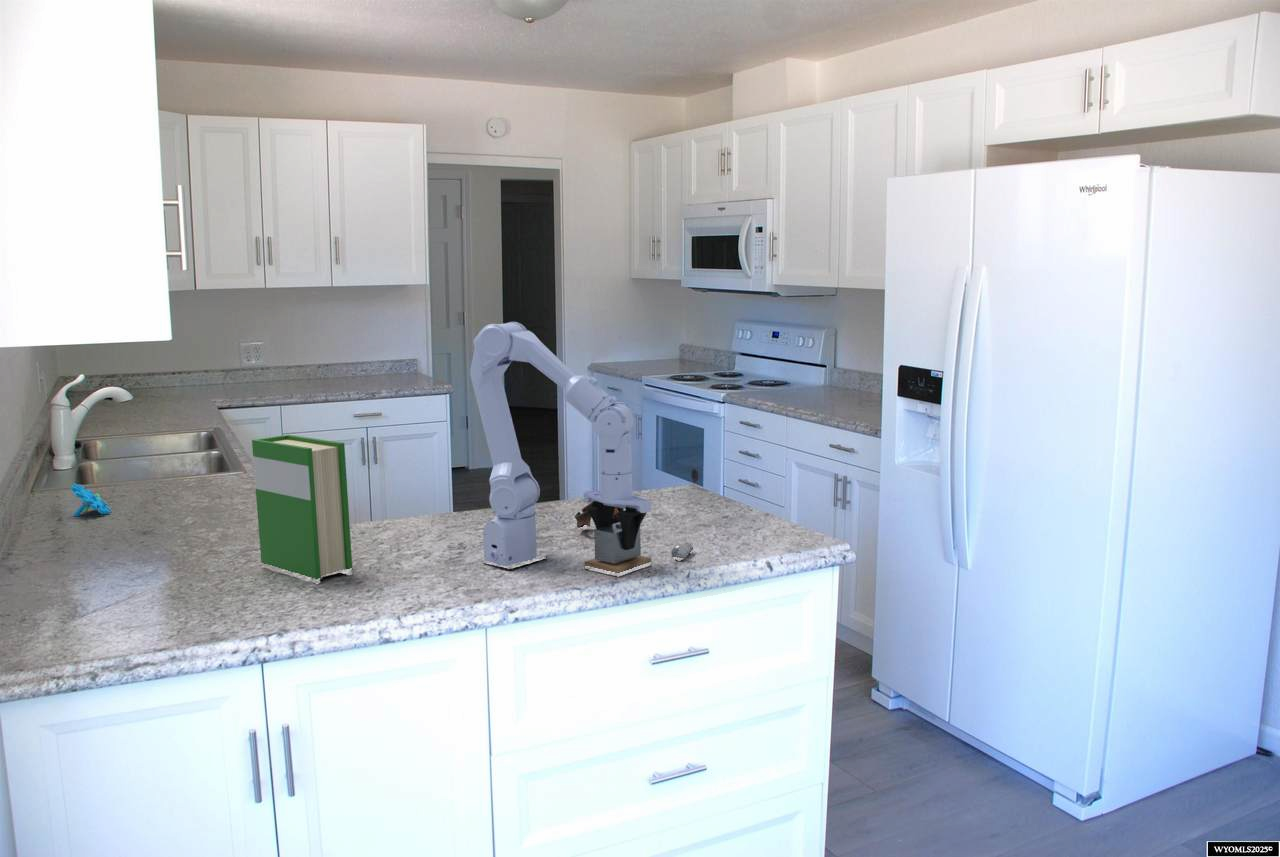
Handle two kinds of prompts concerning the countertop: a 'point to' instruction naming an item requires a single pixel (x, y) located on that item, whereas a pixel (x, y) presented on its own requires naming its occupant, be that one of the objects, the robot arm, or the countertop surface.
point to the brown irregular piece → (586, 518)
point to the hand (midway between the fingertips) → (617, 546)
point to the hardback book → (302, 504)
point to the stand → (618, 564)
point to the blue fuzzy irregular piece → (89, 500)
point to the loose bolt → (681, 551)
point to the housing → (614, 544)
